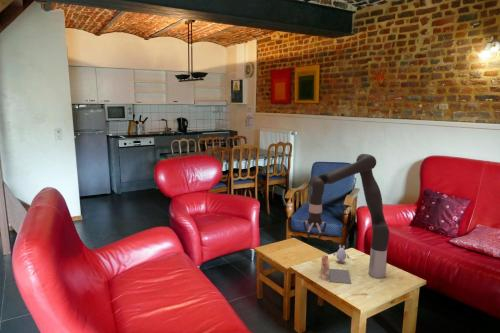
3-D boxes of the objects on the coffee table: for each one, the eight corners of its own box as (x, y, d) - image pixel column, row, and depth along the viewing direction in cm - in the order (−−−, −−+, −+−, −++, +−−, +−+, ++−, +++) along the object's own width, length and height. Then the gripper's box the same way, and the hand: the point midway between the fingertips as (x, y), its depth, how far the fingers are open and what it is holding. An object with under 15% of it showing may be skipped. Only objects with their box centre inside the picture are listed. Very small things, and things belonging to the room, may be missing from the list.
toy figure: (349, 262, 234) (351, 245, 232) (348, 266, 229) (349, 248, 226) (333, 258, 239) (334, 242, 236) (331, 262, 233) (332, 245, 231)
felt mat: (348, 270, 222) (348, 270, 222) (351, 283, 207) (351, 283, 207) (327, 269, 224) (327, 268, 224) (329, 282, 209) (329, 281, 209)
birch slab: (326, 270, 222) (327, 255, 220) (328, 280, 211) (329, 264, 209) (321, 270, 223) (321, 255, 221) (322, 279, 211) (322, 264, 209)
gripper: (327, 209, 213) (325, 236, 216) (303, 208, 215) (301, 234, 218) (328, 213, 205) (326, 241, 209) (303, 212, 207) (301, 239, 211)
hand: (313, 237), depth 213 cm, fingers open, 5 cm apart
